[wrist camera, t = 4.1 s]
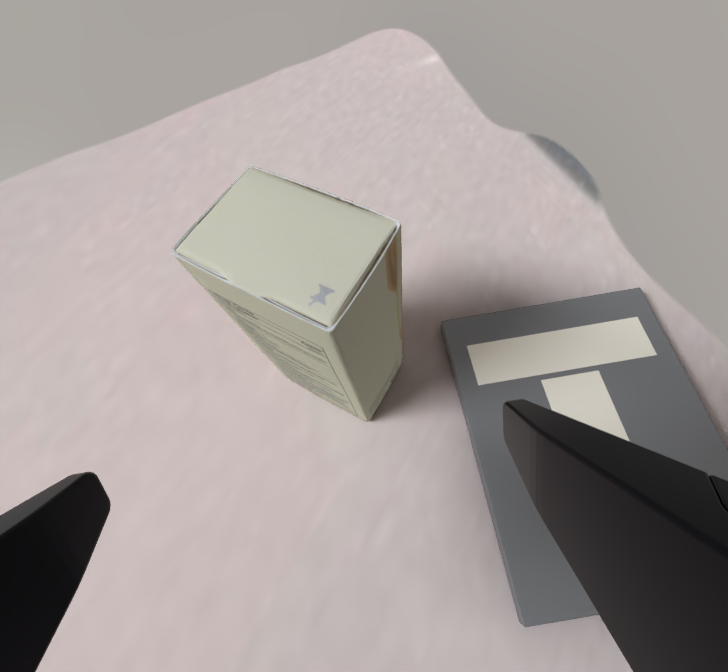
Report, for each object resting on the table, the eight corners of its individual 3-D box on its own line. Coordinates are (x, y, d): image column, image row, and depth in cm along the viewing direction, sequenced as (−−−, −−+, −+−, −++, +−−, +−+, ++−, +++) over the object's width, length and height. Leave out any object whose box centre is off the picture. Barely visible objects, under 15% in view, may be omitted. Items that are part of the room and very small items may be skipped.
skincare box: (404, 361, 22) (416, 222, 11) (368, 425, 21) (340, 340, 10) (315, 316, 24) (247, 155, 13) (276, 373, 22) (162, 248, 11)
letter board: (780, 577, 17) (798, 580, 16) (519, 621, 17) (525, 627, 16) (632, 294, 23) (640, 287, 22) (440, 326, 23) (442, 321, 22)
